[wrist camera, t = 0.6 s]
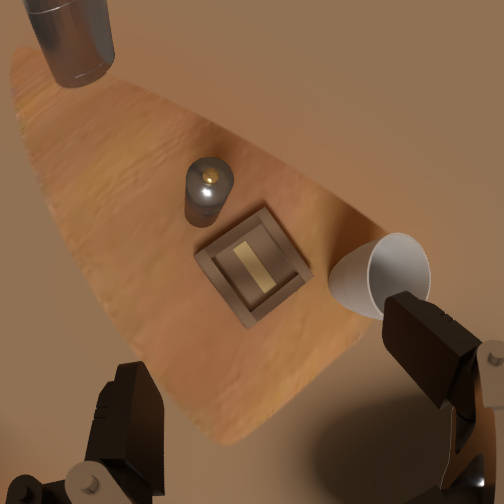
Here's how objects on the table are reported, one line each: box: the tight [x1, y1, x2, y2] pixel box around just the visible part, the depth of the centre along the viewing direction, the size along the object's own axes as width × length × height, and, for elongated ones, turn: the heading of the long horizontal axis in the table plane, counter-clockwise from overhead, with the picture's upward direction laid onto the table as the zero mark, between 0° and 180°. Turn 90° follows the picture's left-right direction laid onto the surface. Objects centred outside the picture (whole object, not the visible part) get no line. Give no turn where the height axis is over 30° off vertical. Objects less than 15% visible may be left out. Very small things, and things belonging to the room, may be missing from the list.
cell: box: [185, 157, 234, 228], centre depth 26 cm, size 4×4×10 cm
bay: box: [193, 207, 314, 329], centre depth 31 cm, size 9×9×1 cm
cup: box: [328, 233, 431, 320], centre depth 29 cm, size 8×8×10 cm
